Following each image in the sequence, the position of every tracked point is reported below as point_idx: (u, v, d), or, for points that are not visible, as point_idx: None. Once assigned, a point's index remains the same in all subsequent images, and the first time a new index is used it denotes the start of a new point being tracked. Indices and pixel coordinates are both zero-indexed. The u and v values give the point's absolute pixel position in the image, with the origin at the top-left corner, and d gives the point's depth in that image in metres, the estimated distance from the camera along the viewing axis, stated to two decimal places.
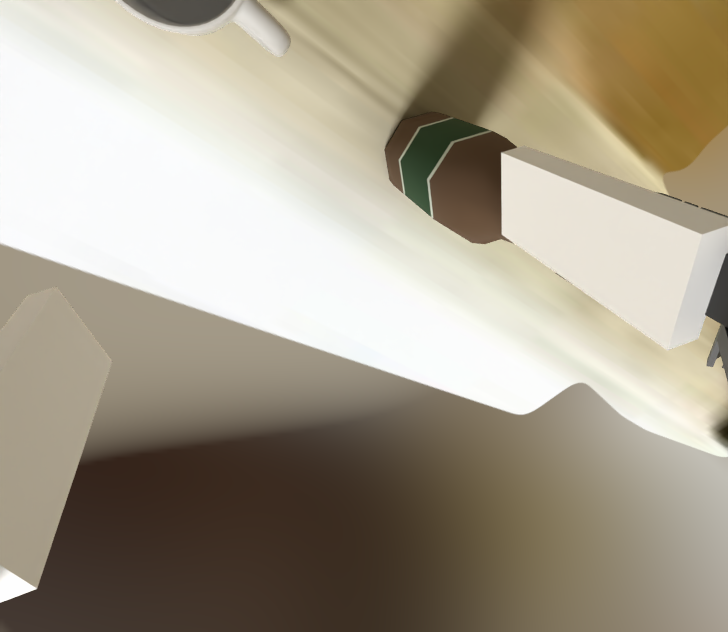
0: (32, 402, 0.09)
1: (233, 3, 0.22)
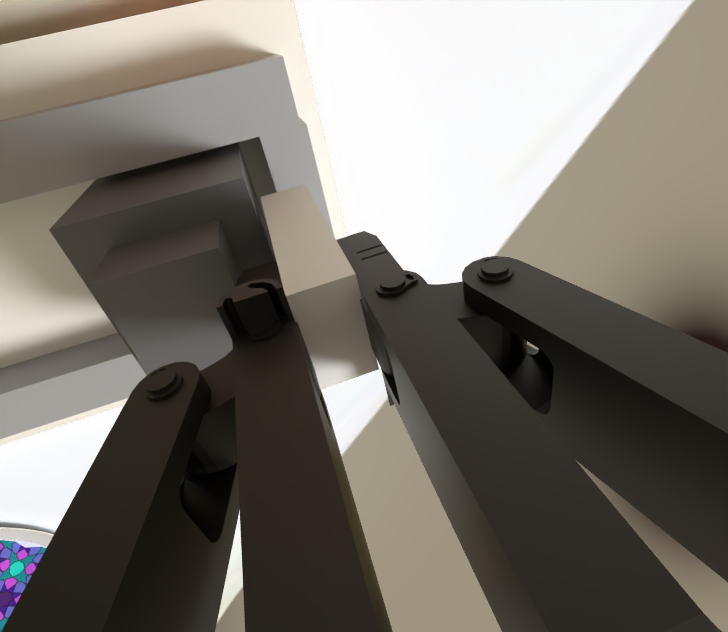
0: None
1: None
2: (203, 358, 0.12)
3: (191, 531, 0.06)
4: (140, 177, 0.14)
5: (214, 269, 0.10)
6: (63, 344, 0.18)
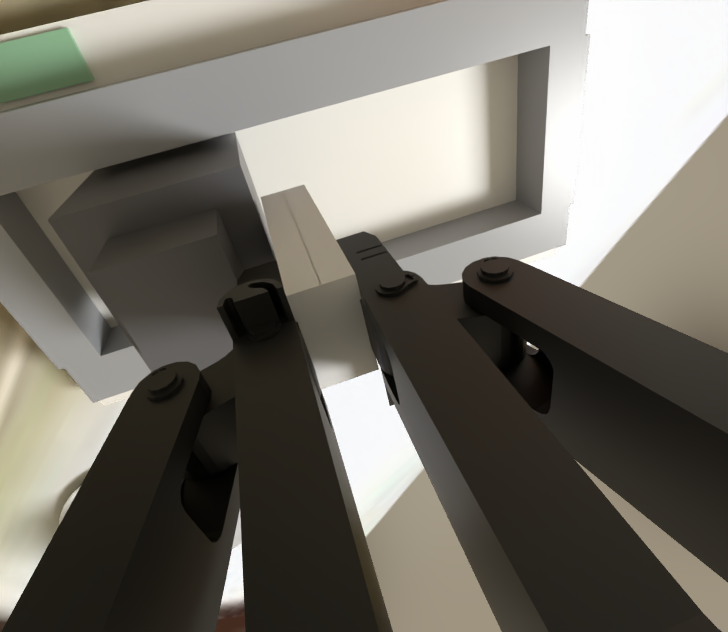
0: None
1: None
2: (203, 347, 0.12)
3: (190, 532, 0.06)
4: (137, 168, 0.13)
5: (212, 256, 0.10)
6: None
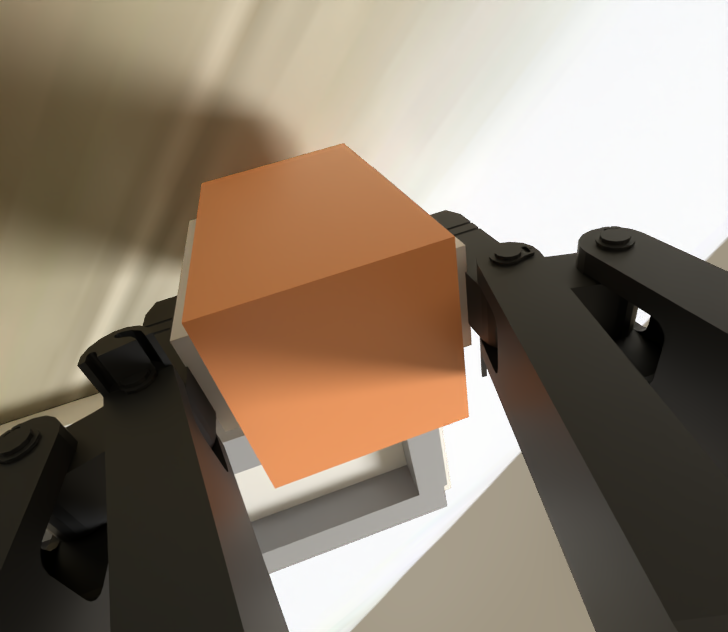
0: None
1: None
2: None
3: (58, 593, 0.06)
4: None
5: None
6: None
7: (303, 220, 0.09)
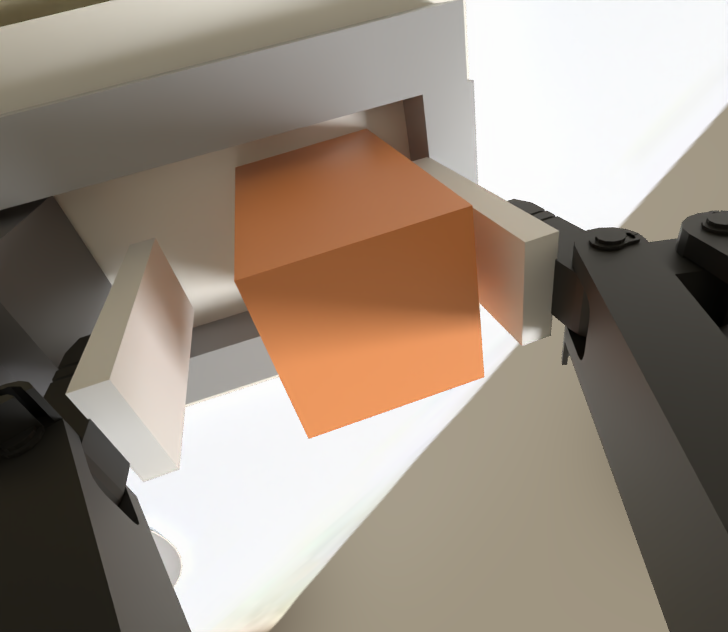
0: (156, 326, 0.10)
1: None
2: None
3: None
4: None
5: None
6: None
7: (333, 196, 0.10)
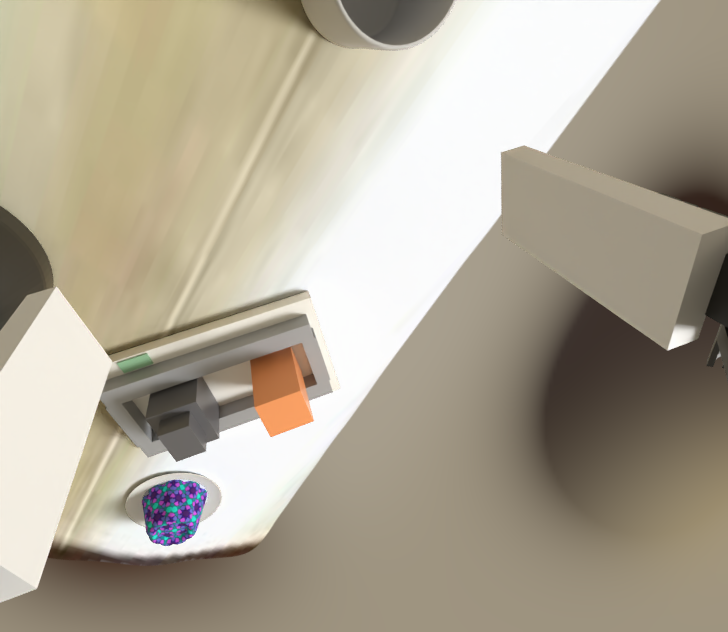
0: (32, 402, 0.09)
1: None
2: (186, 449, 0.42)
3: None
4: (166, 390, 0.44)
5: (187, 430, 0.41)
6: (229, 401, 0.49)
7: (275, 381, 0.43)
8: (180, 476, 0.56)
